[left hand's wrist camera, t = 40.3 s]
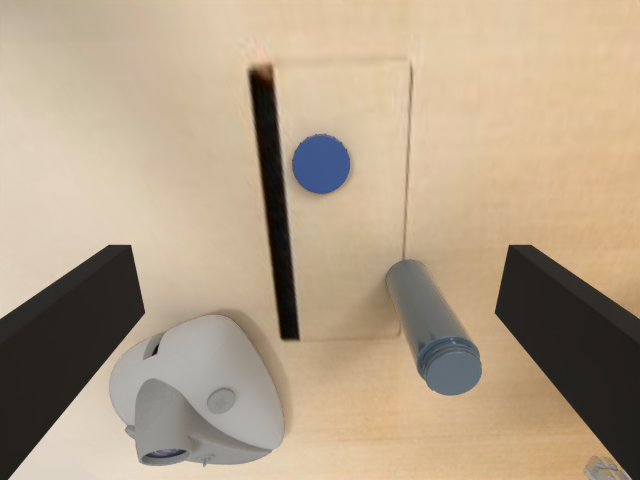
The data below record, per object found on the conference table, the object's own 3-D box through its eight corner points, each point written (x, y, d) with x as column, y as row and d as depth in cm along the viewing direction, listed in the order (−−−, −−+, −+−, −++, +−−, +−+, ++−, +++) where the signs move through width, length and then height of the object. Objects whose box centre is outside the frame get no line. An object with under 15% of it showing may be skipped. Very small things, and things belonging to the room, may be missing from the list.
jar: (411, 251, 41) (463, 336, 26) (437, 280, 43) (500, 376, 28) (377, 277, 43) (407, 372, 28) (403, 305, 44) (445, 410, 29)
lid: (304, 197, 39) (303, 201, 37) (285, 145, 37) (283, 146, 35) (355, 179, 38) (357, 183, 37) (339, 125, 36) (339, 126, 35)
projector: (125, 417, 51) (53, 535, 37) (140, 280, 43) (55, 365, 29) (276, 448, 53) (261, 569, 39) (318, 322, 45) (317, 420, 31)
